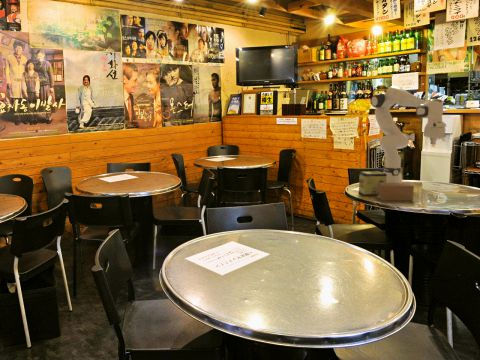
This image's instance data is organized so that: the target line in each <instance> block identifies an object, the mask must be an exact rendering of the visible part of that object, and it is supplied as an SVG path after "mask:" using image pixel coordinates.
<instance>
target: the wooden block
mask: <svg viewBox="0 0 480 360" xmlns="http://www.w3.org/2000/svg"><path fill="white" fill-rule="evenodd" d="M414 189H415V186H414V185H412V184H411V183H410V182H409V183H408V182H402V183H379V187H378V196H377V198H380V199H381V200H392V201H414Z"/></svg>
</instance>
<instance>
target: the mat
mask: <svg viewBox="0 0 480 360" xmlns="http://www.w3.org/2000/svg"><path fill="white" fill-rule="evenodd" d="M373 199H374V200H375V201H378V202H380V203H381V204H404V203H405V204H409V203H415V204H416V203H417V202H416V201H414V200H413V201H392V200H381V199H380V198H379V197H374V198H373Z"/></svg>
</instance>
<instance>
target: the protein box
mask: <svg viewBox="0 0 480 360" xmlns="http://www.w3.org/2000/svg"><path fill="white" fill-rule="evenodd" d="M383 172H384V171H383ZM383 172H382V171H379V170H378V171H377V170H375V171H359V175H358V176H359V180H358V181H359V182H358V184H359V185H358V194H360V195H361V196H362V197H378V187H379V183H386V176H387V174H385V173H383Z"/></svg>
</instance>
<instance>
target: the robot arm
mask: <svg viewBox="0 0 480 360" xmlns="http://www.w3.org/2000/svg"><path fill="white" fill-rule="evenodd" d="M370 104H371V106H372V107H373V108H375V110H374V116H375V119H376V122H377V124H378V126H379V129H380V131H381V132H382V133H383V134H384V135H383V136H381V138H380V140H379V146H380V148H381V149H382V150H383V152H384V156H385V158H384V159H385V164H384V167H383V173H385V174H387V176H386V183H403V174H402V173H401V172H402V167H401V165H402V156H401V155H399V152H398V149H399V150H400V149H404V148H407V146H408V145H409V144H410V139H409V136H407V135H405V134H404V133H403V132H402V131H401V130H400V129H399V127H398V125H396V122H395V121H394V118H393V116H392V114H391V112H390V109H394V107H395V106H396V105H397V106H401V107H414V108H416V110H415V114H416V116H417V117H418V118H420V119H427V123H426V124H425V126H424V129H423V137H426V138H429V140H430V145H432V146H433V145H434V146H436V142H437V140H438V139H440V140H442V139H444V138H445V135H446V127H447V124H446V123H445V121H444V120H443V113H444V102H443V100H442V99H438V98H431V99H430V100H429V101H427V100H425V99H422V98H421V97H417V96H416V95H414V94H412V93H411V92H409V91H407V90H405V89H403V88H402V87H400V86H395V85H392V86H389V87H388V88H387V89H386V92H380V93H376V94H373V95H372V97H371V100H370Z"/></svg>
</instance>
